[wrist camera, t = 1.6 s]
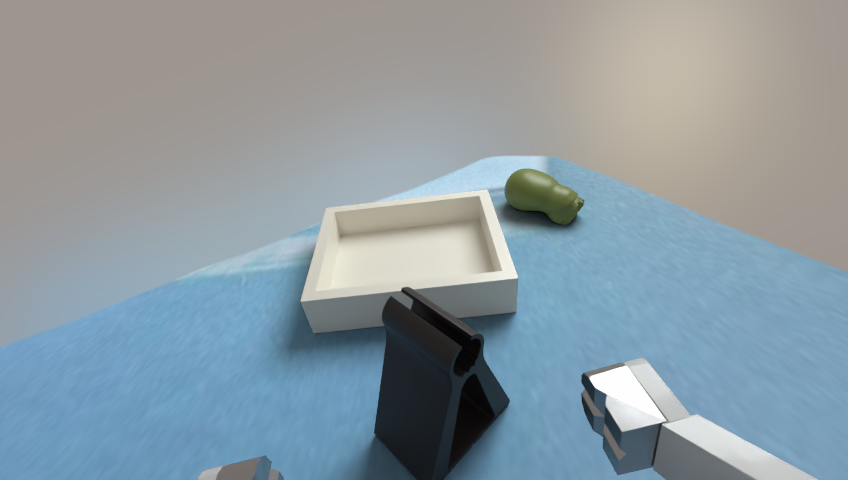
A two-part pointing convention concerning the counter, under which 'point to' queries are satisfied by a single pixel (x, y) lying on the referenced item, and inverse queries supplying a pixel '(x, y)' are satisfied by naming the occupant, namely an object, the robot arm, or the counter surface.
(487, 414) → the phone stand
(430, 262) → the tray
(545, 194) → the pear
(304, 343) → the counter surface
